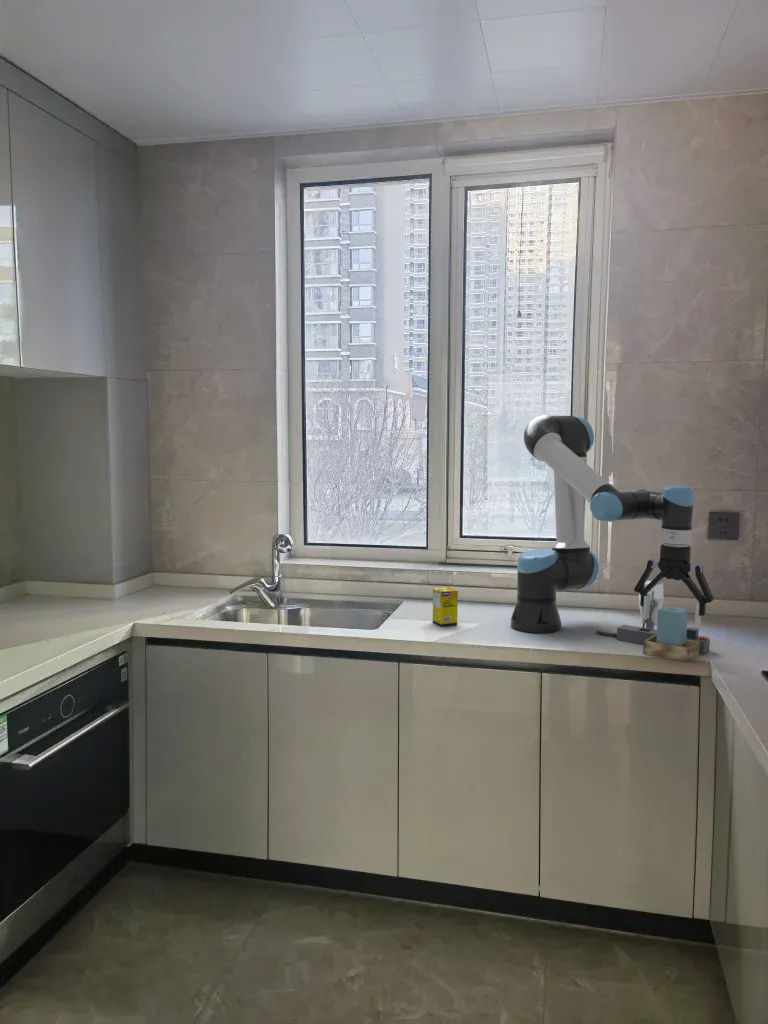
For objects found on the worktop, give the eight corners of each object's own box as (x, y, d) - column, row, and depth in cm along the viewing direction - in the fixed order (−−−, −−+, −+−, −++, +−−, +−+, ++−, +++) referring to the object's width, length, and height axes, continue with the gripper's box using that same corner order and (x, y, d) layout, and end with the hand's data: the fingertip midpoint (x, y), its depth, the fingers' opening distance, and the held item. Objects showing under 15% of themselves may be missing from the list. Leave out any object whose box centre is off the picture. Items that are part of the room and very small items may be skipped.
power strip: (592, 635, 225) (592, 615, 224) (598, 632, 228) (599, 612, 228) (703, 654, 205) (704, 633, 205) (709, 650, 209) (710, 629, 208)
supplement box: (457, 625, 237) (458, 590, 235) (440, 626, 234) (440, 591, 233) (449, 620, 242) (449, 586, 241) (432, 622, 240) (432, 588, 239)
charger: (656, 652, 205) (657, 609, 204) (663, 647, 210) (665, 605, 209) (678, 656, 201) (680, 612, 200) (686, 651, 206) (687, 608, 205)
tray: (643, 653, 206) (643, 641, 205) (654, 646, 213) (655, 634, 212) (689, 662, 198) (689, 648, 198) (699, 654, 205) (700, 641, 205)
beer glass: (632, 629, 232) (634, 580, 230) (651, 627, 234) (653, 579, 233) (648, 635, 225) (650, 585, 224) (667, 633, 228) (669, 583, 226)
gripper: (624, 541, 207) (620, 617, 210) (721, 551, 192) (716, 634, 194) (634, 538, 213) (630, 612, 216) (729, 548, 198) (724, 628, 200)
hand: (671, 623), depth 205 cm, fingers open, 13 cm apart
